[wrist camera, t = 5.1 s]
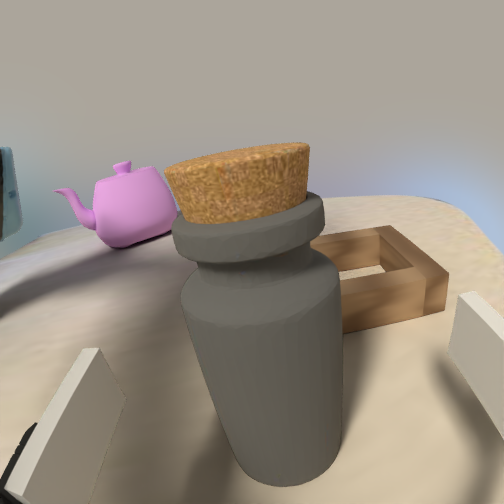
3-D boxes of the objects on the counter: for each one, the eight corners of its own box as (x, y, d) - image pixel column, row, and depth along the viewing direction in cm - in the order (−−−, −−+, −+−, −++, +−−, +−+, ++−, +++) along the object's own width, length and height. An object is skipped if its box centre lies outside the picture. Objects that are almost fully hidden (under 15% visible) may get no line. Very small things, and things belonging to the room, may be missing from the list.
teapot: (160, 215, 76) (146, 155, 70) (192, 230, 59) (175, 149, 53) (71, 246, 66) (54, 182, 60) (74, 272, 48) (48, 186, 43)
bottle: (250, 502, 12) (139, 182, 7) (225, 424, 18) (150, 167, 12) (358, 462, 13) (365, 140, 8) (315, 395, 19) (287, 139, 13)
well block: (296, 341, 24) (291, 303, 23) (282, 271, 36) (277, 242, 35) (444, 310, 23) (449, 273, 22) (390, 253, 36) (390, 225, 34)
